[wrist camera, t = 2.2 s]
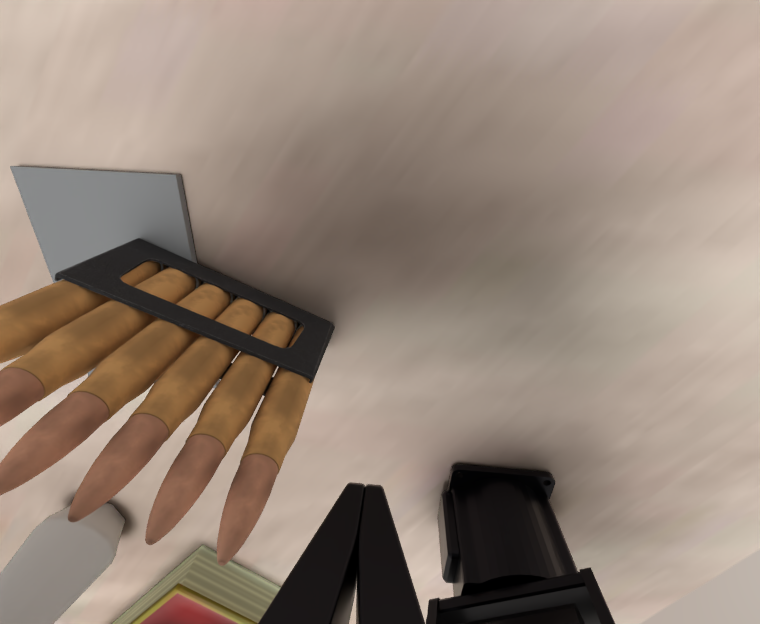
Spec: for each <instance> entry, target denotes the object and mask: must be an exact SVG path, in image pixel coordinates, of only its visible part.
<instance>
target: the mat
mask: <svg viewBox="0 0 760 624" xmlns="http://www.w3.org/2000/svg"><path fill="white" fill-rule="evenodd" d="M10 168H11V171H12V173H13V176H14V178H15V181H16V184H17V186H18V189H19V192H20V194H21V197H22V200H23V202H24V205H25V208H26V210H27V213H28V216H29V218H30V221H31V224H32V226H33V229H34V232H35V234H36V237H37V240H38V242H39V245H40V248H41V250H42V253H43V256H44V258H45V261H46V264H47V266H48V269H49V272H50V274H51V277H52V280H53V282H54V283H56V282H58V281H55V280H54V279H55V274H56V273H57V272H60V271H62V270H64V269H67V268H69V267H71V266H74V265H76V264H78V263H81V262H83V261H85V260H88V259H90V258H92V257H95V256H97V255H99V254H102V253H104V252H106V251H109V250H111V249H114V248H116V247H118V246H121V245H123V244H125V243H128V242H130V241H132V240H135V239H137V238H140V239H142V240H145V241H147V242H149V243H152V244H154V245H156V246H158V247H161V248H163V249H165V250H167V251H170V252H172V253H174V254H177V255H179V256H181V257H183V258H186V259H188V260H190V261H192V262H195V263H197V260H196V254H195V249H194V243H193V238H192V233H191V227H190V222H189V216H188V211H187V206H186V200H185V195H184V189H183V184H182V179H181V174H164V173H145V172H125V171H106V170H87V169H68V168H49V167H29V166H10ZM61 280H63V279H61ZM59 281H60V280H59ZM95 368H96V367H95ZM95 368H94V369H95ZM94 369H93V370H94ZM93 370H91V371H90V372H88V376H89V375H90V374H91V373H92V372H93ZM156 381H157V380H156ZM156 381H155V382H156ZM155 382H154V383H155ZM218 384H219V380H218V381H217V382H216V384H215V385H214V387H213V388H216V387H217V385H218Z"/></svg>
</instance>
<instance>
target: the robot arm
mask: <svg viewBox="0 0 760 624" xmlns="http://www.w3.org/2000/svg"><path fill="white" fill-rule="evenodd" d="M458 472H460V473H458ZM554 485H555V480H554V478H553V476H552V474H551V473H548V472H540V471H528V470H517V469H506V468H494V467H483V466H472V465H460V464H459V465H454V466H453V467H452V468H451V472H450V478H449V483H448V489H447V491H444V492H443V493H442V495H441V500H440V506H439V512H438V528H439V540H440V552H441V565H442V577H443V579H444V580H445V582H446V583H453V592H454V597H450V598H445V599H439V598H435V599H430V600H429V605H428V615H427V619H426V624H615V622H614V620H613V617H612V615H611V613H610V611H609V608H608V606H607V604H606V602H605V599H604V597H603V595H602V593H601V590H600V588H599V586H598V583H597V581H596V579H595V577H594V574H593V572H592V570H591V568H585V569H580V572H578V571H577V568H576V566H575V563H574V561H573V558H572V556H571V553H570V551H569V548H568V546H567V543H566V541H565V538H564V536H563V533H562V531H561V528H560V526H559V523H558V521H557V518H556V516H555V513H554V511H553V508H552V506H551V503H550V501H549V499H550V496H551V493H552V491H553V488H554ZM356 584H357V599H356V624H425V622H424V618H423V615H422V612H421V609H420V605H419V602H418V599H417V596H416V592H415V589H414V586H413V583H412V579H411V576H410V573H409V570H408V567H407V563H406V560H405V557H404V554H403V550H402V547H401V544H400V541H399V537H398V534H397V531H396V528H395V524H394V521H393V518H392V515H391V512H390V508H389V505H388V502H387V499H386V495H385V492H384V489H383V487H382V486H381V485H372V484H368V485H366V486H365V485H364V484H362V483H348V484H347V486H346V487H345V489H344V490H343V492H342V493H341V495H340V496H339V498H338V499H337V501H336V503H335V504H334V506H333V507H332V509H331V510H330V512H329V513H328V515H327V517H326V518H325V520H324V521H323V523H322V524H321V526H320V527H319V529H318V531H317V532H316V534H315V535H314V537H313V538H312V540H311V541H310V543H309V545H308V546H307V548H306V549H305V551H304V552H303V554H302V556H301V557H300V559H299V560H298V562H297V563H296V565H295V566H294V568H293V570H292V571H291V573H290V574H289V576H288V577H287V579H286V580H285V582H284V584H283V585H282V587H281V588H280V590H279V591H278V593H277V594H276V596H275V598H274V599H273V601H272V602H271V604H270V605H269V607H268V608H267V610H266V612H265V613H264V615H263V616H262V618H261V619H260V621H259V622H258V624H349V620H350V615H351V611H352V606H353V601H354V596H355V590H356Z"/></svg>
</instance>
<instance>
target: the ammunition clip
mask: <svg viewBox="0 0 760 624" xmlns="http://www.w3.org/2000/svg"><path fill="white" fill-rule="evenodd" d="M61 279H63V280H61ZM54 280H55V281H58V282H56V283H53V284H51V285H48V286H46V287H44V288H41V289H39V290H37V291H34V292H32V293H29V294H27V295H25V296H22V297H20V298H17V299H15V300H13V301H10V302H8V303H5V304H3V305H1V306H0V363H3V362H6V361H9V360H12V359H15V358H17V357H20V356H22V357H20V358H19V359H17V360H16V361H14V362H13V363H11V364H9V365H8V366H6V367H5V368H3V369H2V370H1V371H0V426H2V425H3V424H5V423H7V422H8V421H10V420H12V419H13V418H15V417H16V416H17V415H19V414H20V413H22V412H23V411H25V410H26V409H27V408H29V407H30V406H32V405H33V404H34V403H36V402H37V401H41V400H42V399H44V398H45V397H47V396H48V395H50V394H51V393H53V392H54V391H55V390H57V389H58V388H60V387H61V386H63V385H65V384H67V383H70V382H72V381H74V380H76V379H78V378H80V377H82V376H84V375H85V374H87V373H88V372H90V371H91V370H93V369H94V368H95V367H96V368H95V369H94V370H93V372H92V373H91V374H90V375H89V377H88V378H87V379H86V380H85V381H83V382H82V383H81V384H80V385H79V386H78V387H76V388H75V389H74V390H73V391H72V392H71V393H69V394H68V396H67V397H66V398H65V399H64V400H63V401H61V402H60V403H59V404H58V405H56V406H55V407H54V408H53V409H52V410H50V411H49V412H48V413H47V414H46V415H44V416H43V417H42V418H41V419H40V420H39V421H38V422H37V423H36V424H35V425H34V426H33V427H32V428H31V429H30V430H29V431H28V432H27V433H26V434H25V435H24V436H23V437H22V438H21V439H20V440H19V441H18V442H17V443H16V445H15V446H14V447H13V448H12V449H11V450H10V452H9V453H8V454H7V455H6V457H5V458H4V459H3V460H2V462H1V463H0V495H2V494H4V493H6V492H8V491H10V490H13V489H14V488H16V487H18V486H20V485H22V484H24V483H25V482H27V481H29V480H30V479H32V478H33V477H35V476H37V475H38V474H40V473H41V472H43V471H44V470H46V469H47V468H49V467H50V466H52V465H53V464H55V463H56V462H58V461H59V460H60V459H62V458H63V457H65V456H66V455H67V454H68V453H70V452H71V451H72V450H73V449H75V448H76V447H77V446H78V445H80V444H81V443H82V442H83V441H85V440H86V439H87V438H88V437H89V436H90V435H91V434H92V433H93V432H94V431H95V430H96V429H98V428H99V427H100V426H101V425H102V424H103V423H104V422H106V421H107V420H109V419H110V418H111V417H112V416H113V415H114V414H115V413H116V412H118V411H119V410H120V409H121V408H122V407H123V406H124V405H125V404H127V403H128V402H130V401H131V400H133V399H134V398H136V397H137V396H139V395H140V394H142V393H143V392H145V391H146V390H147V389H148V388H149V387H150V386H151V385H152V384H153V383H154V382H155V381H156V380H157V381H156V382H155V383H154V385H153V386H152V388H151V389H150V391H149V393H148V395H147V396H146V398H145V400H144V401H143V402H142V403H141V404H140V406H139V407H138V408H137V409H136V410H135V411H134V413H133V414H132V415H131V416H130V418H129V419H128V421H127V422H126V423H125V424H124V425H123V426H122V428H121V429H120V430H119V431H118V432H117V433H116V434H115V435H114V436H113V438H112V439H111V440H110V441H109V443H108V444H107V445H106V447H105V448H104V449H103V451H102V452H101V453H100V455H99V456H98V457H97V459H96V460H95V462H94V463H93V465H92V466H91V468H90V469H89V471H88V473H87V474H86V476H85V478H84V480H83V481H82V483H81V485H80V487H79V489H78V490H77V492H76V494H75V497H74V499H73V501H72V504H71V507H70V510H69V513H68V521H70V522H77V521H79V520H81V519H83V518H84V517H86V516H88V515H89V514H91V513H92V512H94V511H95V510H97V509H98V508H100V507H101V506H102V505H104V504H105V503H106V502H107V501H109V500H110V499H111V498H112V497H113V496H115V495H116V494H117V493H118V492H119V491H120V490H121V489H123V488H124V487H125V486H126V485H127V484H128V483H129V482H130V481H131V480H132V479H133V478H134V477H135V476H136V475H137V474H138V473H139V472H140V471H141V470H142V468H143V467H144V466H145V465H146V464H147V463H148V462H149V461H150V460H151V458H152V457H153V456H154V455H155V453H156V452H157V451H158V449H159V448H160V447H161V446H162V444H163V443H164V442H165V441H166V440H168V438H169V437H170V436H171V435H172V434H173V432H174V431H175V430H176V429H177V427H178V426H179V425H180V424H181V423H182V422H183V421H184V420H185V419H187V418H188V417H189V416H190V415H191V414H192V413H193V412H194V411H196V409H197V408H198V407H199V406H200V404H201V403H202V402H203V400H204V399H205V397H206V396H207V395H208V393H209V392H210V391H211V389H212V388H213V387H214V385H215V384H216V382H217V381H218V380H219V379H221V381H220V382H219V384H218V385H217V387H216V388H215V389H214V391H213V392H212V394H211V395H210V397H209V398H208V400H207V401H206V403H205V404H204V406H203V408H202V410H201V413H200V416H199V418H198V421H197V424H196V425H195V427H194V428H193V430H192V432H191V433H190V435H189V437H188V438H187V440H186V443H185V445H184V447H183V448H182V450H181V451H180V453H179V454H178V456H177V457H176V459H175V460H174V462H173V464H172V466H171V467H170V469H169V471H168V473H167V475H166V477H165V479H164V481H163V483H162V485H161V487H160V489H159V491H158V494H157V496H156V499H155V501H154V504H153V507H152V510H151V513H150V516H149V520H148V524H147V529H146V538H145V541H146V543H147V544H148V545H152V544H154V543H156V542H157V541H159V540H160V539H161V538H162V537H164V536H165V535H166V534H167V533H168V532H169V531H170V530H171V529H172V528H174V527H175V525H176V524H177V523H178V522H179V521H180V520H181V519H182V518H183V516H184V515H185V514H186V513H187V512H188V510H189V509H190V508H191V507H192V505H193V504H194V503H195V502H196V500H197V499H198V498H199V496H200V495H201V493H202V492H203V490H204V489H205V487H206V486H207V485H208V483H209V482H210V480H211V478H212V477H213V475H214V473H215V472H216V470H217V468H218V466H219V464H220V463H221V461H222V459H223V458H224V457H225V455H226V454H227V452H228V450H229V449H230V447H231V445H232V443H233V442H234V440H235V439H236V437H237V436H238V435H239V434H240V433H241V432H242V430H243V429H244V428H245V426H246V425H247V424H248V422H249V421H250V419H251V417H252V415H253V413H254V411H255V409H256V407H257V405H258V403H259V401H260V399H261V397H262V395H263V396H265V397H264V399H263V401H262V403H261V405H260V408H259V410H258V412H257V414H256V416H255V418H254V420H253V423H252V425H251V430H250V435H249V440H248V443H247V446H246V448H245V451H244V453H243V456H242V458H241V461H240V465H239V468H238V470H237V472H236V475H235V477H234V479H233V482H232V484H231V487H230V490H229V493H228V496H227V499H226V502H225V506H224V509H223V513H222V518H221V522H220V528H219V534H218V541H217V562H218V564H219V565H221V566H224V565H225V564H227V563H228V562H229V561H230V560H231V559H232V558H233V556H234V555H235V554H236V553H237V552H238V551H239V549H240V548H241V547H242V545H243V544H244V542H245V541H246V539H247V538H248V536H249V534H250V533H251V531H252V530H253V528H254V526H255V524H256V523H257V521H258V519H259V517H260V515H261V513H262V511H263V509H264V507H265V505H266V502H267V500H268V498H269V496H270V493H271V490H272V487H273V485H274V482H275V479H276V476H277V474H278V473H279V471H280V468H281V466H282V463H283V460H284V458H285V455H286V454H287V452H288V450H289V449H290V447H291V445H292V444H293V442H294V440H295V438H296V435H297V432H298V428H299V425H300V422H301V419H302V416H303V413H304V410H305V406H306V403H307V400H308V397H309V394H310V391H311V388H312V385H313V381H314V378H315V375H316V373H317V370H318V368H319V365H320V363H321V360H322V358H323V355H324V353H325V350H326V348H327V345H328V343H329V340H330V338H331V335H332V333H333V330H334V328H335V327H334V325H333V324H332V323H331V322H329V321H326V320H324V319H322V318H320V317H317V316H315V315H313V314H311V313H308V312H306V311H304V310H301V309H299V308H297V307H295V306H292V305H290V304H288V303H286V302H283V301H281V300H279V299H276V298H274V297H272V296H270V295H267V294H265V293H263V292H261V291H258V290H256V289H254V288H251V287H249V286H247V285H245V284H242V283H240V282H238V281H236V280H233V279H231V278H229V277H227V276H224V275H222V274H220V273H217V272H215V271H213V270H211V269H208V268H206V267H204V266H202V265H199V264H197V263H195V262H192V261H190V260H188V259H186V258H183V257H181V256H179V255H177V254H174V253H172V252H170V251H167V250H165V249H163V248H161V247H158V246H156V245H154V244H152V243H149V242H147V241H145V240H142V239H140V238H137V239H135V240H132V241H130V242H128V243H125V244H123V245H121V246H118V247H116V248H114V249H111V250H109V251H106V252H104V253H102V254H99V255H97V256H95V257H92V258H90V259H88V260H85V261H83V262H81V263H78V264H76V265H74V266H71V267H69V268H67V269H64V270H62V271H60V272H57V273H56V274H55V279H54ZM59 280H60V281H59ZM251 335H252V336H251ZM239 351H241V352H240V354H239V355H238V356H237V358H236V359H235V361H234V362H233V363H231V362H232V361H233V359H234V358H235V356H236V355H237V354H238V352H239ZM23 355H24V356H23ZM277 366H279V368H278V370H277V372H276V374H275V376H274V377H272V375H273V373H274V372H275V370H276V368H277Z"/></svg>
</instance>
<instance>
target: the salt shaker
mask: <svg viewBox="0 0 760 624" xmlns="http://www.w3.org/2000/svg"><path fill="white" fill-rule="evenodd" d="M70 507H71V505H70V506H69V507H67V508H65V509H63V510H61V511H59V512H57V513H55V514H53V515H50V516H49V517H47V518H46V519H45V520H44V521H43V522H42V523H40V524H39V525H38V526H37V527H36V528H35V529H34V530H33V531H32V532H31V534H30V535H29V536H28V538H27V539H26V540H25V541H24V543H23V544H22V545H21V547H20V548H19V549H18V551H17V552H16V553H15V555H14V556H13V557H12V559H11V560H10V561H9V563H8V564H7V565H6V567H5V568H4V569H3V571H2V572H1V573H0V624H54V622H55V621H56V620H57V619H58V618H59V617H60V616H61V615H62V614H63V613H64V612H65V611H66V610H67V609H68V608H69V607H70V606H71V605H72V604H73V603H74V602H75V601H76V600H77V599H78V598H79V597H80V595H81V594H82V593H83V592H84V591H85V590H86V589H87V588H88V587H89V586H90V585H91V584H92V583H93V582H94V581H95V580H96V579H97V578H98V577H99V576H100V575H101V574H102V573H103V572H104V571H105V569H106V568H107V567H108V566H109V565H110V564H111V563H112V561H113V559H114V557H115V556H116V551H117V546H118V542H119V539H120V536H121V532H122V529H123V526H124V522H125V519H124V518H123V517H122V515H121V514H120V513H119V512H118V511H117V510H116V508H115V507H114V506H113V505H112V504H109V503H105V504H104V505H102V506H101V507H100V508H98V509H97V510H95V511H94V512H92V513H91V514H89V515H88V516H86V517H84V518H83V519H81V520H79V521H77V522H70V521H68V513H69V510H70Z"/></svg>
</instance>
